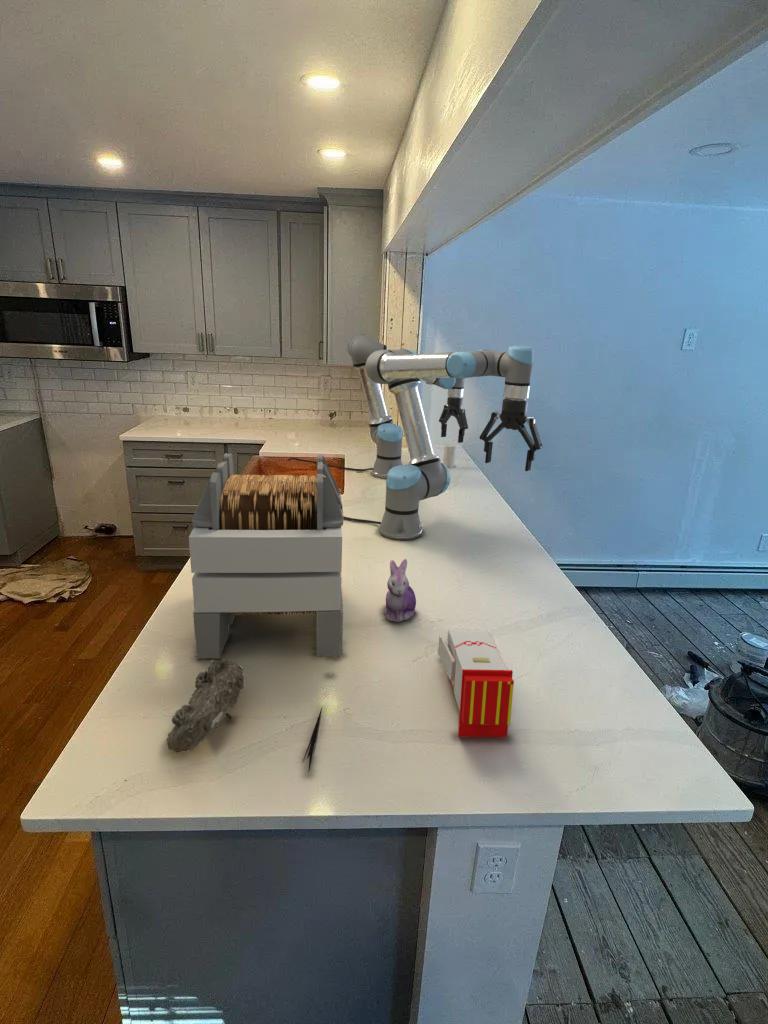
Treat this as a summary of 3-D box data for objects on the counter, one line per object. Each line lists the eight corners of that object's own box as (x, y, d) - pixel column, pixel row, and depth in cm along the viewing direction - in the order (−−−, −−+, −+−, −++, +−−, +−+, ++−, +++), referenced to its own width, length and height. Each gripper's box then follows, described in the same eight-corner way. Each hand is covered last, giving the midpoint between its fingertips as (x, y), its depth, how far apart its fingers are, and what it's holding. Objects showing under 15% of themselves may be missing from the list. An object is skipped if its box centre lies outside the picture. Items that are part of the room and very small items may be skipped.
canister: (453, 467, 287) (455, 447, 283) (442, 466, 288) (443, 446, 285) (455, 465, 292) (456, 444, 289) (444, 463, 294) (445, 443, 290)
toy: (488, 613, 130) (523, 677, 101) (484, 667, 133) (517, 744, 104) (435, 612, 130) (455, 676, 101) (432, 666, 133) (451, 743, 103)
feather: (331, 679, 122) (336, 673, 122) (307, 777, 96) (313, 769, 95) (324, 675, 122) (329, 669, 121) (298, 772, 95) (304, 764, 95)
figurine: (392, 627, 141) (395, 572, 136) (374, 608, 149) (376, 556, 144) (425, 619, 145) (429, 566, 140) (405, 601, 154) (408, 550, 149)
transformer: (219, 588, 156) (210, 443, 142) (338, 587, 160) (340, 446, 146) (193, 661, 124) (179, 483, 110) (343, 657, 128) (346, 485, 114)
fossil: (192, 660, 117) (244, 628, 112) (224, 691, 120) (276, 661, 115) (142, 746, 98) (202, 712, 93) (182, 779, 101) (242, 748, 96)
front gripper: (559, 402, 169) (549, 471, 176) (483, 393, 182) (477, 457, 190) (550, 405, 163) (540, 476, 171) (473, 395, 177) (466, 461, 184)
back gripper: (478, 400, 270) (473, 444, 277) (445, 393, 289) (442, 434, 297) (465, 401, 266) (461, 445, 273) (433, 393, 286) (431, 435, 293)
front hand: (507, 466), depth 180 cm, fingers open, 13 cm apart
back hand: (451, 439), depth 285 cm, fingers open, 13 cm apart
